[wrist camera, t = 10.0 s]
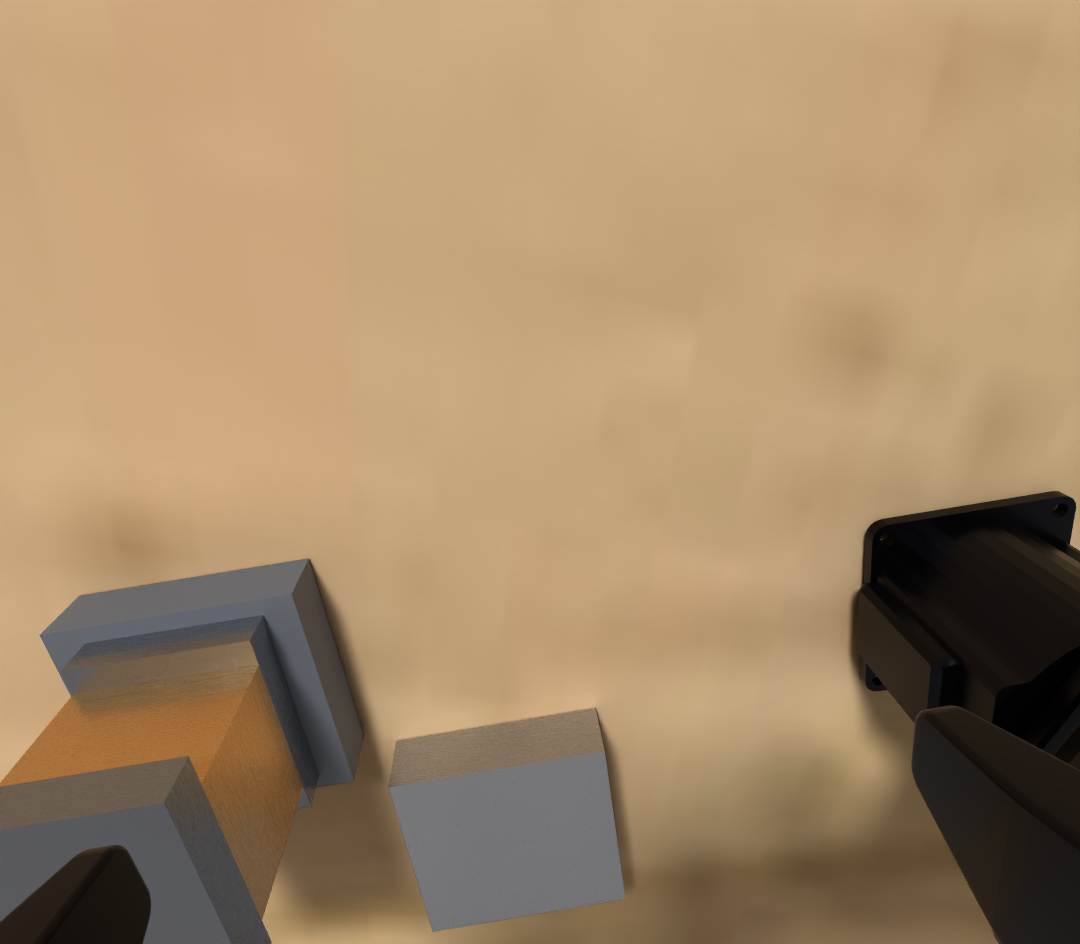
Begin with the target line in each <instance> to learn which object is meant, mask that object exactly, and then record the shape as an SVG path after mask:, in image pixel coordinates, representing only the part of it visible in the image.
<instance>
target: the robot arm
mask: <svg viewBox="0 0 1080 944" xmlns="http://www.w3.org/2000/svg"><path fill="white" fill-rule="evenodd" d="M1057 505H1058V507H1057V508H1056V509H1055V510H1054V511H1053V509H1054V508H1055V507H1056V506H1057ZM1075 511H1076V503H1075V501H1074V499H1072V498H1071V497H1069V496H1067V495H1065V494H1063V493H1061V492H1059V491H1051V492H1045V493H1039V494H1033V495H1027V496H1021V497H1015V498H1008V499H1002V500H996V501H990V502H984V503H978V504H972V505H966V506H959V507H953V508H947V509H941V510H935V511H929V512H923V513H916V514H910V515H904V516H898V517H892V518H886V519H881V520H878V521H875V522H874V523H873V524H871V525H870V527H869V528H868V530H867V533H866V540H865V562H864V584H863V585H862V587H861V588H860V590H859V598H858V622H857V646H856V650H857V652H858V654H859V655H860V673H859V675H860V679H861V680H862V681H863V683H864V684H865V685H866V687H867V688H868V689H869V690H872V691H883V690H888V691H889V692H890V693H891V694H892V696H893V697H894V698H895V699H896V701H897V702H898V703H899V704H900V706H901V707H902V708H903V709H904V711H905V712H906V713H907V714H908V715H909V717H910V718H911V719H912V720H913V722H914V723H915V729H914V740H913V752H912V772H913V776H914V779H915V782H916V785H917V787H918V789H919V791H920V793H921V795H922V797H923V798H924V800H925V802H926V804H927V806H928V808H929V810H930V812H931V814H932V816H933V818H934V820H935V821H936V823H937V825H938V827H939V829H940V831H941V833H942V835H943V837H944V839H945V841H946V842H947V844H948V846H949V848H950V850H951V852H952V854H953V856H954V858H955V860H956V862H957V864H958V865H959V867H960V869H961V871H962V873H963V875H964V877H965V879H966V881H967V883H968V885H969V887H970V888H971V890H972V892H973V894H974V896H975V898H976V900H977V902H978V904H979V905H980V907H981V909H982V911H983V913H984V915H985V916H986V918H987V920H988V922H989V924H990V925H991V927H992V930H993V933H994V936H995V938H996V940H997V942H998V943H999V944H1080V551H1079V550H1078V549H1076V548H1074V547H1073V546H1071V545H1070V539H1071V533H1072V528H1073V522H1074V516H1075ZM886 532H889V534H888V536H887V537H886V538H885V539H883V540H880V538H881V536H882V535H883V534H884V533H886ZM875 676H877V677H875ZM873 677H874V678H873ZM150 914H151V897H150V892H149V890H148V888H147V886H146V884H145V882H144V880H143V878H142V876H141V874H140V872H139V871H138V869H137V867H136V865H135V863H134V861H133V859H132V857H131V855H130V854H129V852H128V850H127V849H126V848H124V847H123V846H121V845H110V846H104V847H98V848H92V849H87V850H84V851H82V852H80V853H78V854H77V855H76V856H74V857H73V858H72V859H71V860H70V861H68V862H67V863H66V864H65V865H64V866H63V867H62V868H60V869H59V870H58V871H57V872H56V873H55V874H54V875H53V876H51V877H50V878H49V879H48V880H47V881H46V882H45V883H43V884H42V885H41V886H40V887H39V888H38V889H37V890H36V891H34V892H33V893H32V894H31V895H30V896H29V897H28V898H26V899H25V900H24V901H23V902H22V903H21V904H20V905H18V906H17V907H16V908H15V909H14V910H13V911H12V912H11V913H9V914H8V915H7V916H6V917H5V918H4V919H3V920H1V921H0V944H143V942H144V938H145V934H146V930H147V927H148V923H149V919H150Z"/></svg>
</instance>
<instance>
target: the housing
mask: <svg viewBox="0 0 1080 944" xmlns="http://www.w3.org/2000/svg"><path fill="white" fill-rule="evenodd" d="M61 673H62V675H63V677H64V679H65V681H66V683H67V685H68V687H69V689H70V691H71V693H72V697H71V698H70V699H69V700H68V702H67V703H66V704H65V705H64V706H63V708H62V709H61V710H60V711H59V712H58V714H57V715H56V716H55V717H54V718H53V720H52V721H51V722H50V723H49V725H48V726H47V727H46V728H45V729H44V731H43V732H42V733H41V734H40V735H39V737H38V738H37V739H36V740H35V741H34V743H33V744H32V745H31V746H30V748H29V749H28V750H27V751H26V752H25V754H24V755H23V756H22V757H21V758H20V760H19V761H18V762H17V763H16V765H15V766H14V767H13V768H12V769H11V771H10V772H9V773H8V774H7V775H6V777H5V778H4V779H3V780H2V781H1V783H0V921H1V920H3V919H4V918H5V917H6V916H7V915H8V914H9V913H11V912H12V911H13V910H14V909H15V908H16V907H17V906H18V905H20V904H21V903H22V902H23V901H24V900H25V899H26V898H28V897H29V896H30V895H31V894H32V893H33V892H34V891H36V890H37V889H38V888H39V887H40V886H41V885H42V884H43V883H45V882H46V881H47V880H48V879H49V878H50V877H51V876H53V875H54V874H55V873H56V872H57V871H58V870H59V869H60V868H62V867H63V866H64V865H65V864H66V863H67V862H68V861H70V860H71V859H72V858H73V857H74V856H76V855H77V854H78V853H80V852H82V851H84V850H87V849H92V848H98V847H104V846H110V845H121V846H123V847H124V848H126V849H127V850H128V852H129V854H130V855H131V857H132V859H133V861H134V863H135V865H136V867H137V869H138V871H139V872H140V874H141V876H142V878H143V880H144V882H145V884H146V886H147V888H148V890H149V892H150V897H151V914H150V919H149V923H148V927H147V930H146V934H145V938H144V942H143V944H271V943H272V942H271V940H270V938H269V935H268V933H267V931H266V929H265V926H264V924H263V922H262V919H263V915H264V912H265V909H266V906H267V902H268V899H269V896H270V893H271V889H272V886H273V883H274V880H275V876H276V873H277V870H278V867H279V863H280V860H281V857H282V854H283V851H284V847H285V844H286V841H287V838H288V834H289V831H290V828H291V825H292V821H293V818H294V815H295V812H296V809H297V808H303V807H309V806H311V803H312V800H313V796H314V793H315V789H316V786H317V782H318V779H319V775H320V774H319V771H318V768H317V765H316V763H315V760H314V757H313V754H312V751H311V748H310V746H309V743H308V740H307V737H306V734H305V731H304V728H303V726H302V723H301V720H300V717H299V714H298V711H297V709H296V706H295V703H294V700H293V697H292V694H291V692H290V689H289V686H288V683H287V680H286V677H285V675H284V672H283V669H282V666H281V663H280V660H279V658H278V655H277V652H276V649H275V646H274V643H273V640H272V638H271V635H270V632H269V629H268V626H267V623H266V621H265V618H264V615H259V616H253V617H247V618H241V619H234V620H228V621H222V622H216V623H209V624H203V625H197V626H191V627H184V628H178V629H172V630H166V631H160V632H153V633H147V634H141V635H135V636H128V637H122V638H116V639H110V640H103V641H97V642H91V643H85V644H84V645H83V647H82V648H81V649H80V650H79V651H78V652H77V653H76V654H75V655H74V657H73V658H72V659H71V660H70V661H69V662H68V663H67V664H66V666H65V667H64V668H63V669H62V670H61Z"/></svg>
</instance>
